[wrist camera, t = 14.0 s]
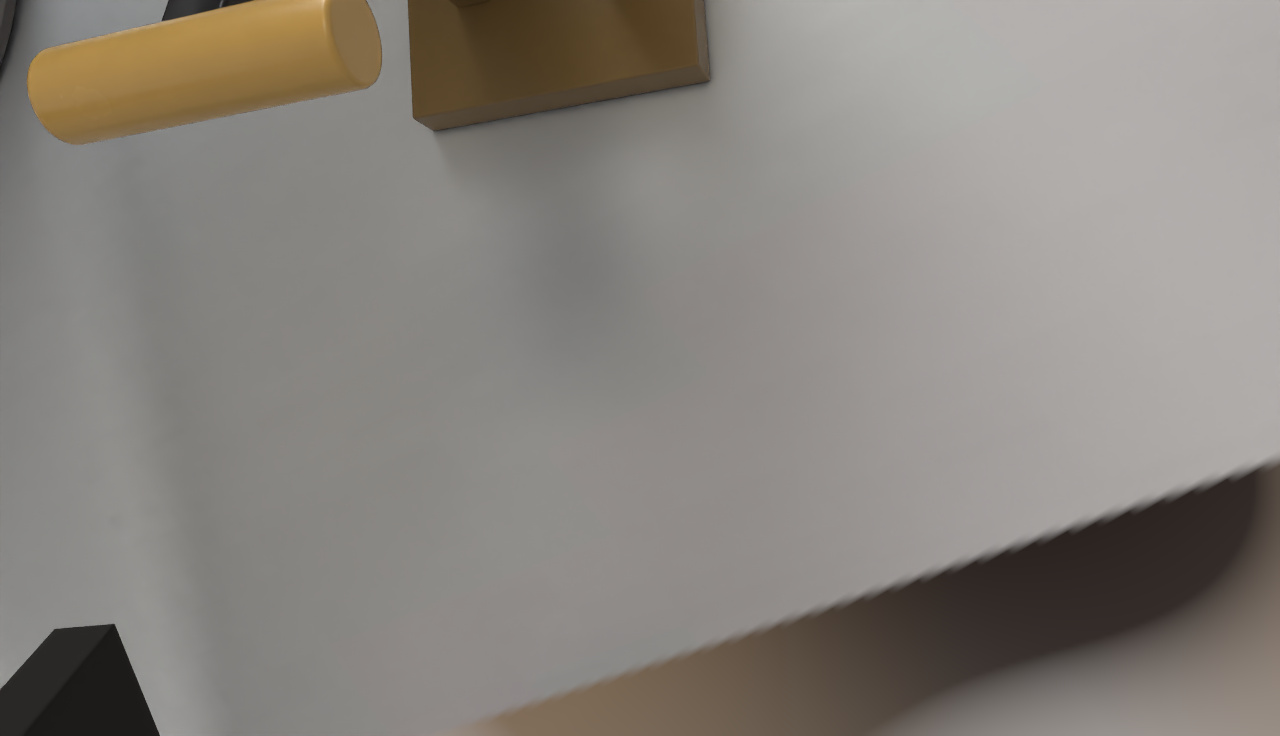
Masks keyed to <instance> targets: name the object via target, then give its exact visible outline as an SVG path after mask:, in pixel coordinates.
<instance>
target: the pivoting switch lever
mask: <svg viewBox="0 0 1280 736" xmlns="http://www.w3.org/2000/svg"><path fill="white" fill-rule="evenodd" d="M381 65H382V48H381V40H380V35H379V31H378V27H377V24H376V21H375V18H374V16H373V13H372V11H371V9H370V7H369V5H368V3H367V2H366V0H169V1H168V4H167V7H166V10H165V13H164V16H163V18H162V21H161V22H158V23H153V24H149V25H145V26H140V27H136V28H132V29H127V30H123V31H119V32H114V33H110V34H106V35H101V36H97V37H93V38H88V39H84V40H80V41H75V42H71V43H67V44H62V45H58V46H54V47H49V48H46V49H44V50H42V51H41V52H40V53H38V54H37V55H36V56H35V58H34V59H33V60H32V62H31V64H30V66H29V69H28V74H27V90H28V95H29V99H30V102H31V105H32V108H33V110H34V112H35V114H36V116H37V118H38V119H39V121H40V122H41V124H42V125H43V126H44V127H45V128H46V129H47V130H48V131H49V132H50V133H51V134H52V135H53V136H54V137H56V138H58V139H59V140H61V141H63V142H66V143H70V144H73V145H84V144H89V143H94V142H99V141H105V140H110V139H115V138H120V137H125V136H130V135H135V134H140V133H145V132H150V131H155V130H160V129H165V128H170V127H175V126H180V125H185V124H190V123H196V122H201V121H206V120H211V119H216V118H221V117H226V116H231V115H236V114H241V113H246V112H251V111H256V110H261V109H266V108H271V107H276V106H282V105H287V104H292V103H297V102H302V101H307V100H312V99H317V98H322V97H327V96H332V95H337V94H342V93H347V92H352V91H357V90H362V89H366V88H368V87H370V86H371V85H373V84H374V83H375V82H376V80H377V79H378V76H379V74H380V70H381Z"/></svg>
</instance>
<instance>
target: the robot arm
mask: <svg viewBox="0 0 1280 736" xmlns="http://www.w3.org/2000/svg"><path fill="white" fill-rule="evenodd" d="M15 7H16V0H0V64H1V62H2V59H3V56H4V53H5V50H6V46H7V43H8V39H9V35H10V32H11V27H12V22H13V17H14V12H15ZM0 736H160V735H159V732H158V730H157V727H156V725H155V722H154V720H153V717H152V715H151V713H150V710H149V708H148V705H147V703H146V700H145V698H144V695H143V693H142V690H141V688H140V686H139V683H138V681H137V678H136V676H135V673H134V671H133V668H132V666H131V663H130V661H129V658H128V656H127V654H126V651H125V649H124V646H123V644H122V641H121V639H120V636H119V634H118V631H117V629H116V626H115V624H108V625H96V626H84V627H72V628H60V629H54V630H53V631H52V632H51V634H50V635H49V636H48V637H47V638H46V639H45V640H44V641H43V643H42V644H41V645H40V646H39V647H38V648H37V649H36V650H35V651H34V653H33V654H32V655H31V656H30V657H29V658H28V659H27V660H26V662H25V663H24V664H23V665H22V666H21V667H20V668H19V669H18V670H17V672H16V673H15V674H14V675H13V676H12V677H11V678H10V679H9V681H8V682H7V683H6V684H5V685H4V686H3V687H2V688H1V690H0Z"/></svg>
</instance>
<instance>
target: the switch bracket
mask: <svg viewBox="0 0 1280 736" xmlns="http://www.w3.org/2000/svg"><path fill="white" fill-rule="evenodd" d="M408 15H409V38H410V61H411V83H412V106H413V118H414V119H415V120H417V121H418V122H420V123H421V124H423V125H425V126H426V127H428V128H430V129H431V130H433V131H437V130H442V129H448V128H453V127H459V126H464V125H470V124H475V123H481V122H486V121H492V120H497V119H503V118H508V117H514V116H519V115H525V114H530V113H536V112H541V111H547V110H552V109H558V108H563V107H569V106H574V105H580V104H585V103H591V102H596V101H602V100H607V99H613V98H618V97H624V96H629V95H635V94H640V93H646V92H651V91H657V90H662V89H668V88H673V87H679V86H684V85H690V84H695V83H701V82H706V81H709V80H710V72H709V60H708V47H707V34H706V21H705V8H704V0H408Z"/></svg>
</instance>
